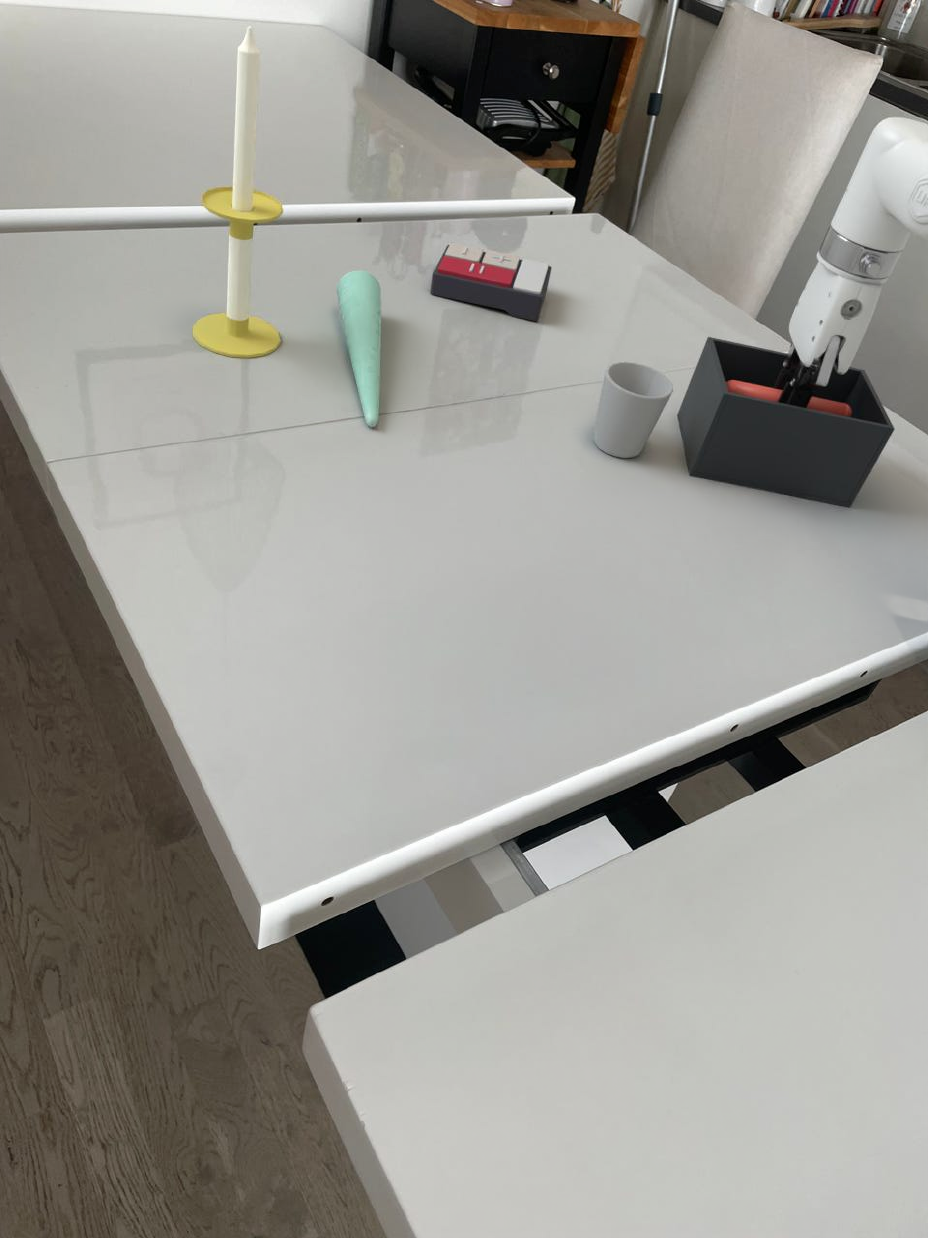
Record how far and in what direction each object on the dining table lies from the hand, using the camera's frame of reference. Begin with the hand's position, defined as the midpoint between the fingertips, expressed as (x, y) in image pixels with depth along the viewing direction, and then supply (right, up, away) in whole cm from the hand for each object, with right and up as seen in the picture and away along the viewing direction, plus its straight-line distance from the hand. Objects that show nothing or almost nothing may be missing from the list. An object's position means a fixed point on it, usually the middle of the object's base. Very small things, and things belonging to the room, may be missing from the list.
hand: (784, 408), depth 112 cm
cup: (-19, -3, +2) cm, 19 cm away
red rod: (0, 0, 0) cm, 0 cm away
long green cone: (-48, +5, +3) cm, 49 cm away
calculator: (-33, +21, +24) cm, 46 cm away
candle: (-63, +9, +2) cm, 63 cm away
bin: (-1, -5, +5) cm, 7 cm away
